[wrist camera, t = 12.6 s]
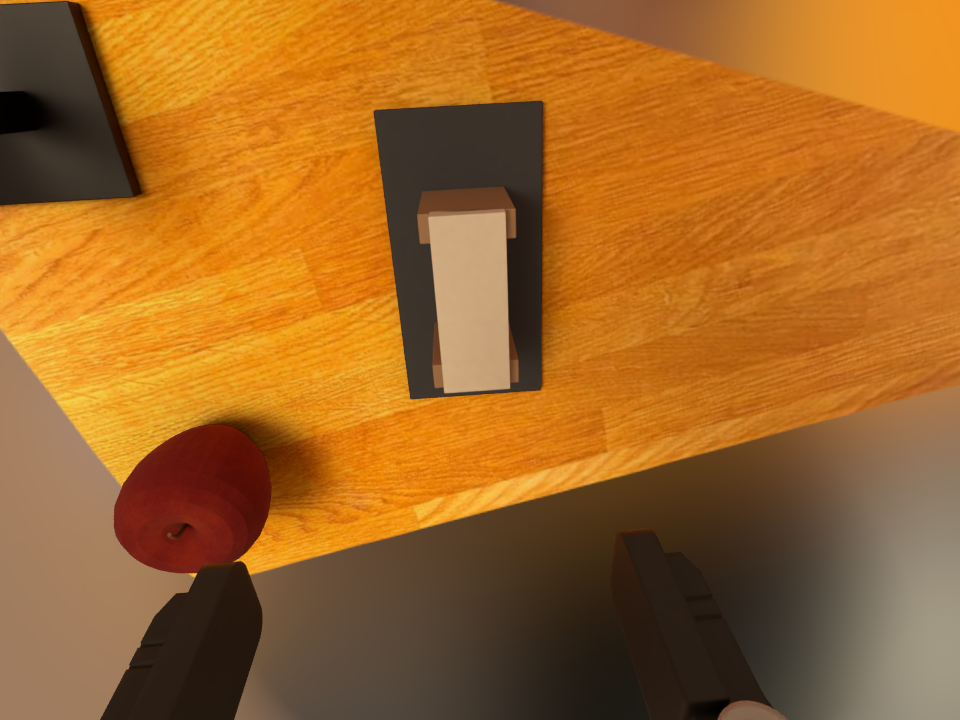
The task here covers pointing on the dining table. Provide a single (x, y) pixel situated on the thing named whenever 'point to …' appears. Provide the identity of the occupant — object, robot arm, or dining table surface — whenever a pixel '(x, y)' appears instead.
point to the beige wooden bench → (470, 286)
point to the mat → (460, 165)
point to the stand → (56, 111)
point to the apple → (194, 500)
